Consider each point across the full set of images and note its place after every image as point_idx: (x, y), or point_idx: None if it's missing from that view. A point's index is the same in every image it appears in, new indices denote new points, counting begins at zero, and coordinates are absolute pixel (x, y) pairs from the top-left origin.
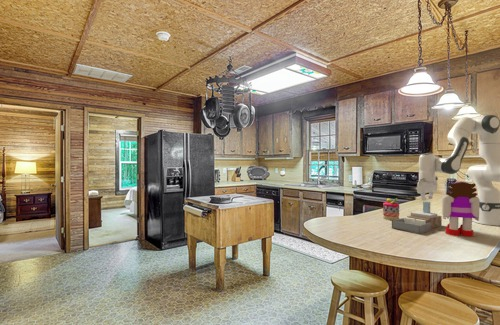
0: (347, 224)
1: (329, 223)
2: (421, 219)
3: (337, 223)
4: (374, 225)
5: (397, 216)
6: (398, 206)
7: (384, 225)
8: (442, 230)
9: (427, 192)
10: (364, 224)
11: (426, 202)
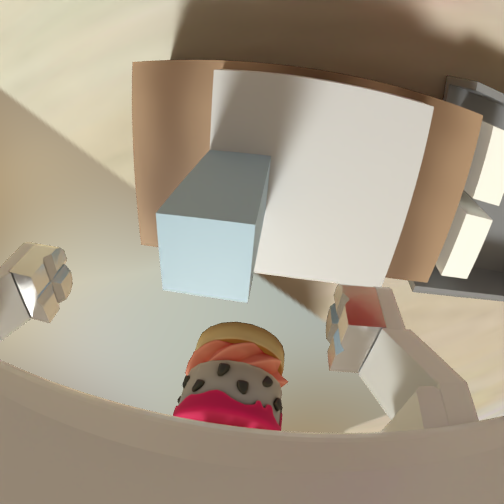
0: (498, 388)
1: (499, 411)
2: (467, 163)
3: (492, 404)
4: (482, 340)
5: (233, 342)
6: (226, 399)
7: (463, 317)
8: (378, 5)
9: (360, 447)
10: (478, 366)
11: (254, 249)
